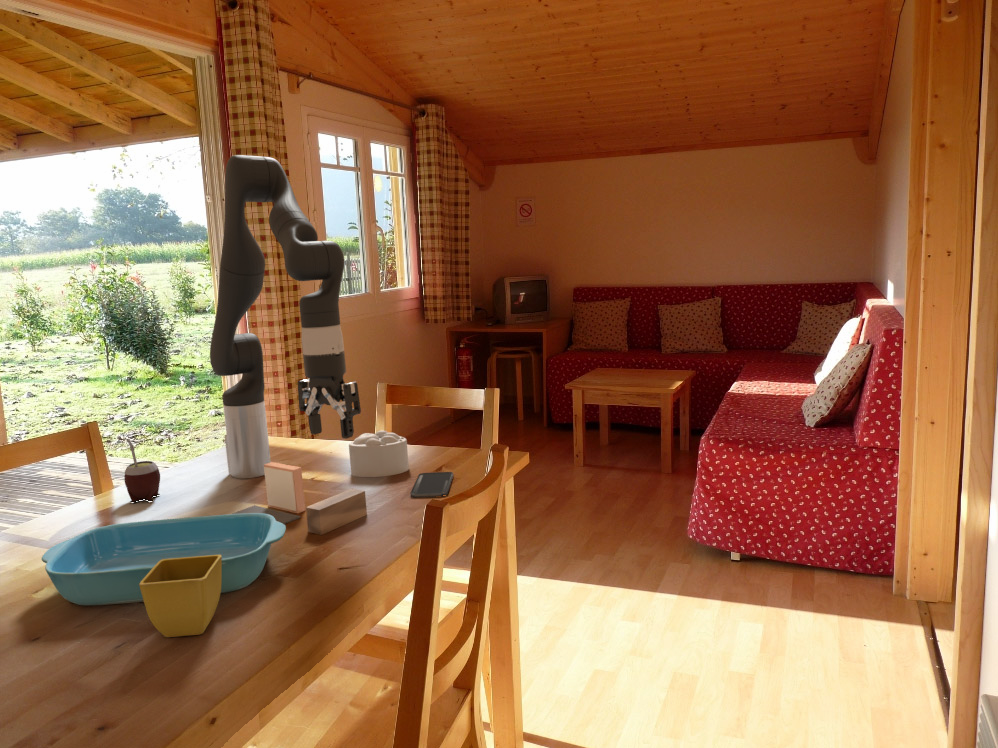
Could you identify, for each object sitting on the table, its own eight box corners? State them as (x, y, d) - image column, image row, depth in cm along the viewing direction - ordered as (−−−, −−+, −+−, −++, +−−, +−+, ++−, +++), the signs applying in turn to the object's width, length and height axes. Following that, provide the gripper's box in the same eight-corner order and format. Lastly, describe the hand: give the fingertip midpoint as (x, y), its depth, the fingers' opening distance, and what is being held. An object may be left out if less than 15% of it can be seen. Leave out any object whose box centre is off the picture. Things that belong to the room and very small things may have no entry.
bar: (308, 532, 144) (305, 507, 144) (354, 512, 154) (352, 488, 153) (321, 536, 142) (318, 510, 142) (367, 515, 152) (365, 491, 151)
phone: (409, 494, 161) (419, 472, 176) (409, 499, 161) (419, 477, 176) (447, 493, 160) (454, 471, 175) (447, 498, 161) (454, 476, 175)
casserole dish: (295, 542, 140) (291, 504, 139) (280, 596, 118) (275, 552, 117) (78, 564, 135) (73, 525, 134) (21, 625, 113) (13, 579, 112)
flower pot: (167, 616, 113) (160, 558, 112) (229, 611, 114) (222, 553, 112) (146, 647, 105) (137, 584, 103) (212, 641, 105) (204, 578, 104)
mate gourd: (153, 492, 173) (145, 427, 171) (170, 498, 168) (162, 431, 166) (119, 501, 168) (110, 434, 165) (136, 508, 163) (126, 439, 160)
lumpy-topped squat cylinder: (361, 464, 188) (358, 429, 187) (413, 463, 186) (411, 428, 185) (347, 477, 178) (344, 440, 176) (403, 476, 176) (400, 439, 175)
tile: (267, 507, 160) (262, 464, 158) (276, 503, 162) (271, 462, 160) (296, 514, 155) (292, 470, 153) (305, 510, 156) (301, 467, 155)
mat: (219, 519, 153) (219, 518, 153) (254, 506, 160) (254, 505, 160) (265, 531, 145) (265, 530, 145) (300, 517, 152) (300, 516, 152)
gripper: (282, 352, 145) (291, 437, 147) (334, 354, 136) (343, 443, 139) (313, 346, 151) (321, 428, 153) (365, 348, 142) (373, 434, 145)
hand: (331, 435), depth 146 cm, fingers open, 8 cm apart
